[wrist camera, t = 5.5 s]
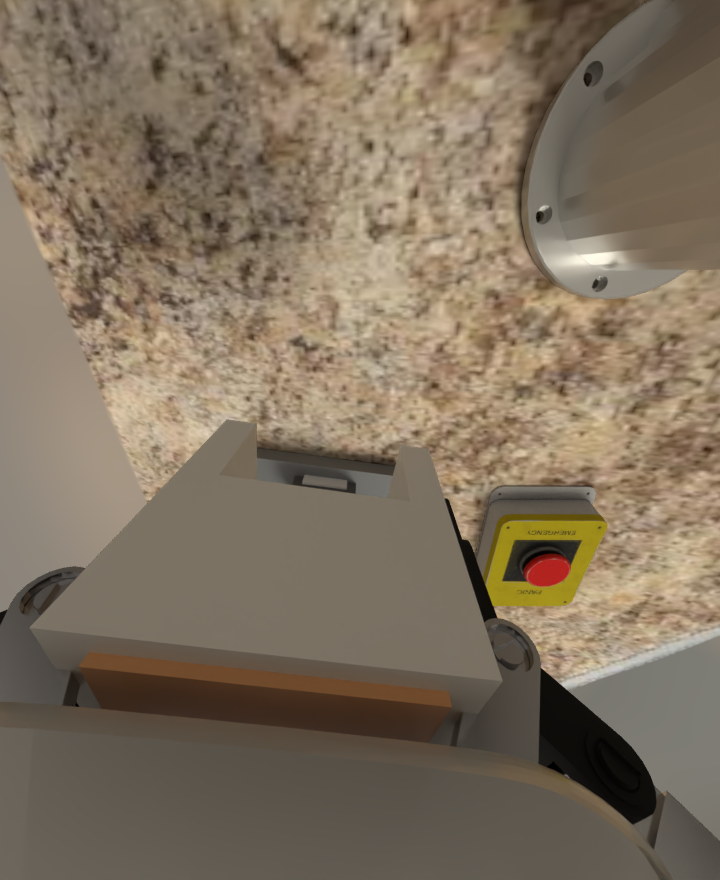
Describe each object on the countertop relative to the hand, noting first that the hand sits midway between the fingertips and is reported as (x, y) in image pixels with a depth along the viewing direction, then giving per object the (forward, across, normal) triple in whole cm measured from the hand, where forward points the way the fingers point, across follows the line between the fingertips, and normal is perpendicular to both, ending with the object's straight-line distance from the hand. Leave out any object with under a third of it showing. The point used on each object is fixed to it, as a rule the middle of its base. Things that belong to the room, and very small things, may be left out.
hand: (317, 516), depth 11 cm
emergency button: (+15, -20, +14) cm, 28 cm away
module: (+1, 0, 0) cm, 1 cm away
